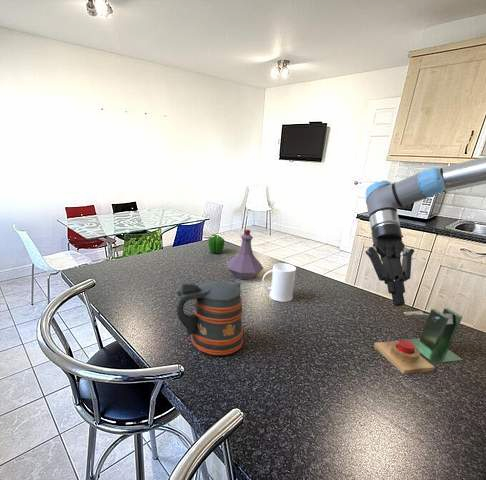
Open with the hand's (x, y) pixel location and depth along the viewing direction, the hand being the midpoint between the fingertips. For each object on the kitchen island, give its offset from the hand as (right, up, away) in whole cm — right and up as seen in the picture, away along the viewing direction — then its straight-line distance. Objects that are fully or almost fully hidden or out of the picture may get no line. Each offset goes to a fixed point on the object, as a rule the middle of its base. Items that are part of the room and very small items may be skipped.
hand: (399, 304), depth 79 cm
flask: (-37, +8, +49) cm, 61 cm away
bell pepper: (-48, +20, +76) cm, 92 cm away
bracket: (+10, -13, +2) cm, 17 cm away
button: (0, -11, -3) cm, 12 cm away
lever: (+10, -5, +2) cm, 11 cm away
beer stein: (-51, -11, +4) cm, 53 cm away
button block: (-1, -15, -2) cm, 15 cm away
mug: (-26, 0, +31) cm, 41 cm away
